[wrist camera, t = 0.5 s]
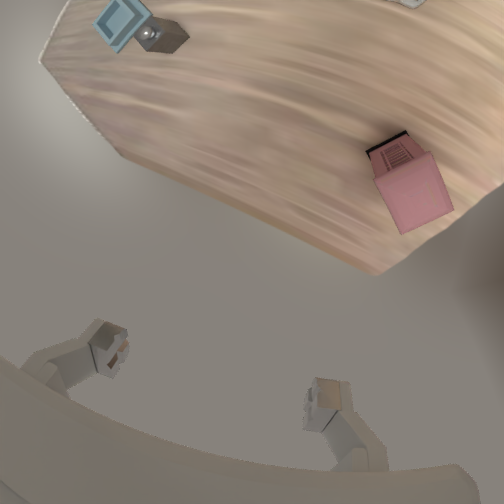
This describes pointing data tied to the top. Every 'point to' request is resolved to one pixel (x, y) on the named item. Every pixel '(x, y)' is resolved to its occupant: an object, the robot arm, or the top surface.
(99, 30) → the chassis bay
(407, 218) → the pink vented box
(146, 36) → the grey knobbed metal block
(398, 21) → the top surface
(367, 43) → the top surface
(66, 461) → the robot arm
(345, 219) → the top surface
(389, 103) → the top surface
